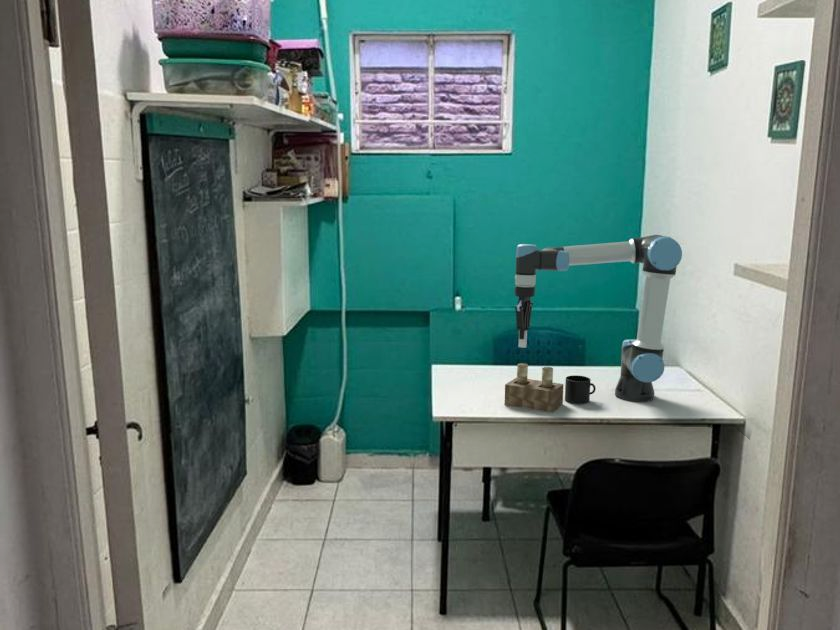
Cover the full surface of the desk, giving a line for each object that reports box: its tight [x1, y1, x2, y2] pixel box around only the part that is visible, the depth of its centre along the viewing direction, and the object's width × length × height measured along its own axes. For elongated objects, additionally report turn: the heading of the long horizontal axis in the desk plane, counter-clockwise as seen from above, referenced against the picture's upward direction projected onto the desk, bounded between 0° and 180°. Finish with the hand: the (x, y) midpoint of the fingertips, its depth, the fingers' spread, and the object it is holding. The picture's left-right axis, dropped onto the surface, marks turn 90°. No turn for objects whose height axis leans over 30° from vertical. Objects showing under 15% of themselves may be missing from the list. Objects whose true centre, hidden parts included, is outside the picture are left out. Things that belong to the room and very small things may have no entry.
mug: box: [564, 374, 597, 405], centre depth 271 cm, size 9×12×9 cm
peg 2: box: [541, 366, 554, 389], centre depth 262 cm, size 4×4×8 cm
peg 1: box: [516, 363, 529, 385], centre depth 267 cm, size 4×4×8 cm
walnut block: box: [504, 377, 564, 413], centre depth 265 cm, size 19×12×8 cm, turn 61°
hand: (522, 347), depth 265 cm, fingers closed
